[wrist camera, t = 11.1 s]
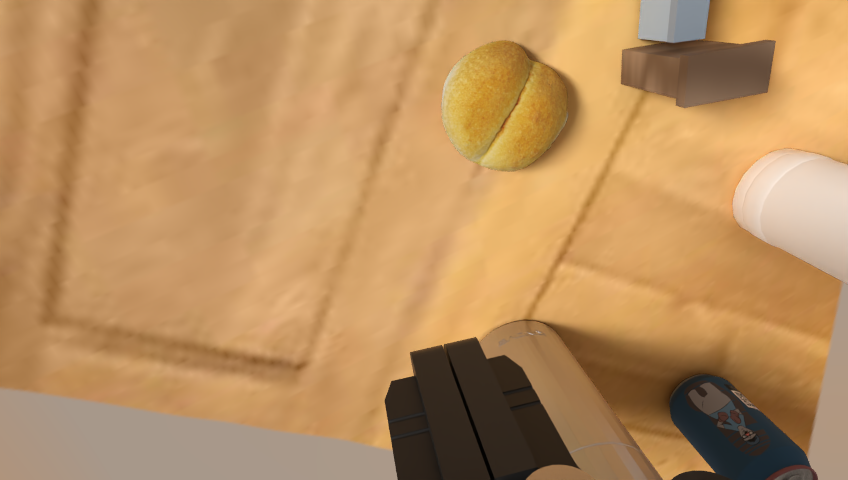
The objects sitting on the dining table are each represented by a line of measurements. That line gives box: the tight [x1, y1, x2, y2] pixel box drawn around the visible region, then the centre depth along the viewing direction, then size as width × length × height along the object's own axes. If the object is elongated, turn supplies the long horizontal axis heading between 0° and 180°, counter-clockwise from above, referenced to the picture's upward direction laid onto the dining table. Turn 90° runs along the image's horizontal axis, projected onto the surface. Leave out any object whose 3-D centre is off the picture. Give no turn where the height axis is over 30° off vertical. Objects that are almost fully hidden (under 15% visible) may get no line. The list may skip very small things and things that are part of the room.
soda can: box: [669, 374, 818, 480], centre depth 48 cm, size 7×7×12 cm
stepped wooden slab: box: [621, 40, 776, 108], centre depth 34 cm, size 3×6×8 cm, turn 98°
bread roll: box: [441, 41, 568, 172], centre depth 35 cm, size 8×9×4 cm
